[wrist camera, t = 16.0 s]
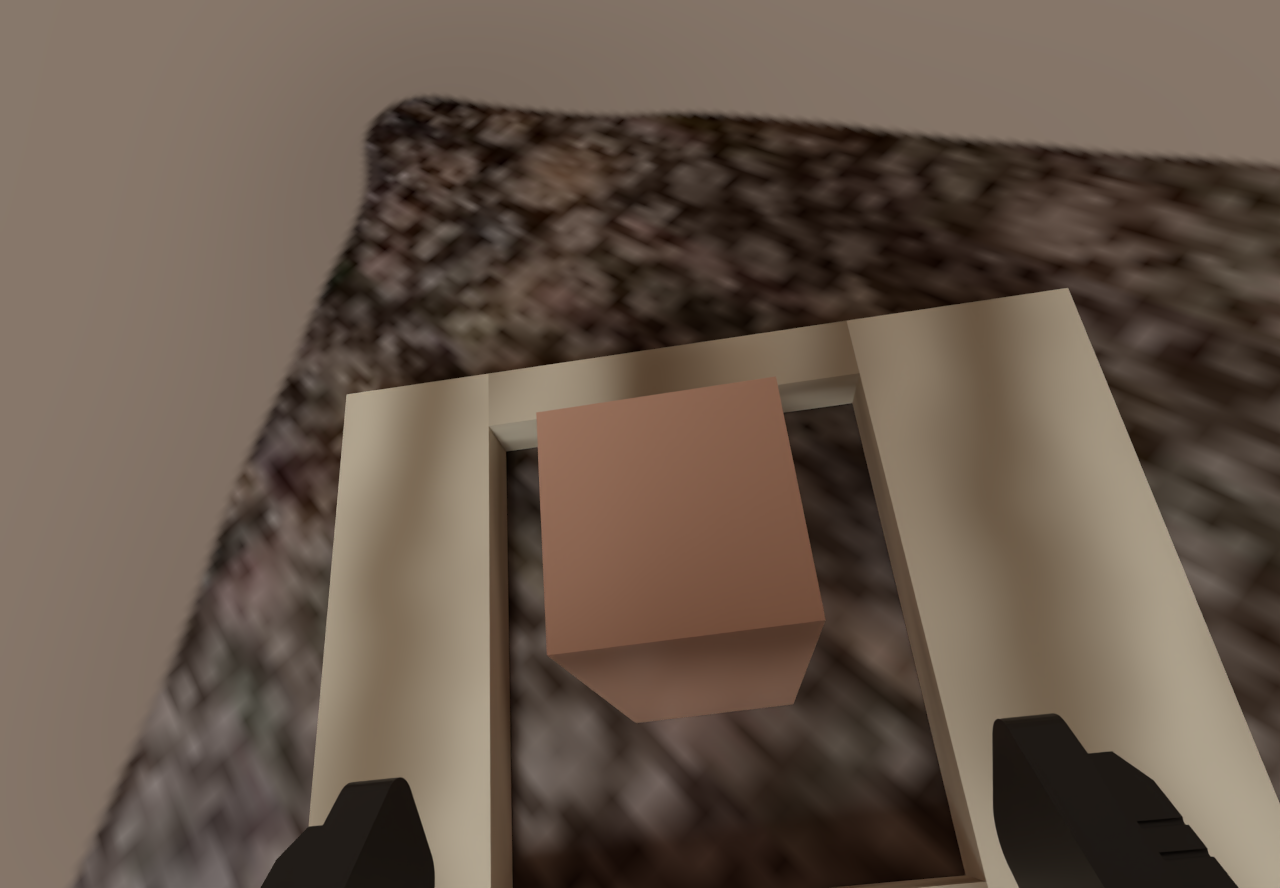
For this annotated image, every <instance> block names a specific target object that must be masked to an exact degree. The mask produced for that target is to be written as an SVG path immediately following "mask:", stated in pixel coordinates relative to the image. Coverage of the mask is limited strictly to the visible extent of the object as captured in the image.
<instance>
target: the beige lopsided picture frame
mask: <svg viewBox="0 0 1280 888" xmlns="http://www.w3.org/2000/svg"><path fill="white" fill-rule="evenodd" d="M775 376H776V379H777V384H778V389H779V394H780V399H781V404H782V409H783V413H785V412H792V411H800V410H807V409H814V408H821V407H828V406H835V405H843V404H850V403H852V404H853V408H854V412H855V417H856V421H857V425H858V429H859V433H860V437H861V442H862V446H863V450H864V454H865V458H866V462H867V467H868V471H869V475H870V479H871V483H872V487H873V492H874V496H875V500H876V504H877V508H878V512H879V517H880V521H881V525H882V529H883V533H884V537H885V542H886V546H887V550H888V554H889V558H890V563H891V567H892V571H893V575H894V579H895V583H896V588H897V592H898V596H899V600H900V604H901V608H902V613H903V617H904V621H905V625H906V629H907V633H908V638H909V642H910V646H911V650H912V654H913V658H914V663H915V667H916V671H917V675H918V679H919V683H920V688H921V692H922V696H923V700H924V704H925V708H926V713H927V717H928V721H929V725H930V729H931V733H932V738H933V742H934V746H935V750H936V754H937V758H938V763H939V767H940V771H941V775H942V779H943V783H944V788H945V792H946V796H947V800H948V804H949V808H950V813H951V817H952V821H953V825H954V829H955V833H956V838H957V842H958V846H959V850H960V854H961V858H962V863H963V867H964V871H965V875H962V876H951V877H940V878H929V879H918V880H907V881H896V882H885V883H875V884H864V885H853V886H842V887H831V888H1019V887H1018V885H1017V883H1016V880H1015V878H1014V876H1013V874H1012V872H1011V870H1010V868H1009V866H1008V864H1007V862H1006V859H1005V857H1004V854H1003V852H1002V849H1001V846H1000V843H999V839H998V835H997V832H996V827H995V822H994V815H993V756H992V730H993V724H994V721H995V720H996V719H1001V718H1011V717H1020V716H1030V715H1040V714H1050V713H1055V714H1058V715H1059V716H1060V717H1062V718H1063V720H1064V721H1065V722H1066V723H1067V725H1068V726H1069V728H1070V729H1071V730H1072V732H1073V733H1074V735H1075V736H1076V737H1077V739H1078V740H1079V742H1080V743H1081V744H1082V746H1083V747H1084V749H1085V750H1086V751H1087V753H1099V752H1109V751H1113V752H1114V753H1115V754H1117V755H1118V756H1120V757H1121V758H1123V759H1124V760H1125V761H1127V762H1128V763H1130V764H1131V765H1133V766H1134V767H1135V768H1137V769H1138V770H1140V771H1141V772H1143V773H1144V774H1145V775H1147V776H1148V777H1150V778H1151V779H1153V780H1154V781H1155V783H1156V784H1157V785H1158V786H1159V788H1160V789H1161V790H1162V791H1163V793H1164V794H1165V795H1166V796H1167V798H1168V799H1169V800H1170V801H1171V803H1172V804H1173V805H1174V807H1175V808H1176V809H1177V810H1178V812H1179V813H1180V814H1181V815H1182V817H1183V821H1184V823H1185V824H1186V825H1190V827H1191V828H1192V829H1193V831H1194V832H1195V833H1196V834H1197V836H1198V837H1199V838H1200V839H1201V841H1202V842H1203V843H1204V844H1205V846H1206V847H1207V848H1208V853H1209V855H1210V856H1211V857H1215V858H1216V860H1217V861H1218V862H1219V863H1220V865H1221V866H1222V867H1223V868H1224V870H1225V871H1226V872H1227V873H1228V875H1229V876H1230V877H1231V879H1232V880H1233V881H1234V882H1235V884H1236V885H1237V886H1238V887H1239V888H1280V803H1279V801H1278V798H1277V796H1276V794H1275V791H1274V789H1273V786H1272V784H1271V781H1270V779H1269V777H1268V774H1267V772H1266V769H1265V767H1264V764H1263V762H1262V759H1261V757H1260V755H1259V752H1258V750H1257V747H1256V745H1255V742H1254V740H1253V738H1252V735H1251V733H1250V730H1249V728H1248V725H1247V723H1246V720H1245V718H1244V716H1243V713H1242V711H1241V708H1240V706H1239V703H1238V701H1237V699H1236V696H1235V694H1234V691H1233V689H1232V686H1231V684H1230V681H1229V679H1228V677H1227V674H1226V672H1225V669H1224V667H1223V664H1222V662H1221V660H1220V657H1219V655H1218V652H1217V650H1216V647H1215V645H1214V642H1213V640H1212V638H1211V635H1210V633H1209V630H1208V628H1207V625H1206V623H1205V621H1204V618H1203V616H1202V613H1201V611H1200V608H1199V606H1198V604H1197V601H1196V599H1195V596H1194V594H1193V591H1192V589H1191V586H1190V584H1189V582H1188V579H1187V577H1186V574H1185V572H1184V569H1183V567H1182V565H1181V562H1180V560H1179V557H1178V555H1177V552H1176V550H1175V547H1174V545H1173V543H1172V540H1171V538H1170V535H1169V533H1168V530H1167V528H1166V526H1165V523H1164V521H1163V518H1162V516H1161V513H1160V511H1159V508H1158V506H1157V504H1156V501H1155V499H1154V496H1153V494H1152V491H1151V489H1150V487H1149V484H1148V482H1147V479H1146V477H1145V474H1144V472H1143V469H1142V467H1141V465H1140V462H1139V460H1138V457H1137V455H1136V452H1135V450H1134V448H1133V445H1132V443H1131V440H1130V438H1129V435H1128V433H1127V430H1126V428H1125V426H1124V423H1123V421H1122V418H1121V416H1120V413H1119V411H1118V409H1117V406H1116V404H1115V401H1114V399H1113V396H1112V394H1111V391H1110V389H1109V387H1108V384H1107V382H1106V379H1105V377H1104V374H1103V372H1102V370H1101V367H1100V365H1099V362H1098V360H1097V357H1096V355H1095V353H1094V350H1093V348H1092V345H1091V343H1090V340H1089V338H1088V335H1087V333H1086V331H1085V328H1084V326H1083V323H1082V321H1081V318H1080V316H1079V314H1078V311H1077V309H1076V306H1075V304H1074V301H1073V299H1072V296H1071V294H1070V292H1069V289H1068V288H1064V289H1057V290H1051V291H1044V292H1037V293H1030V294H1023V295H1017V296H1010V297H1003V298H996V299H990V300H983V301H976V302H969V303H963V304H956V305H949V306H942V307H936V308H929V309H922V310H915V311H909V312H902V313H895V314H888V315H881V316H875V317H868V318H861V319H854V320H848V321H841V322H834V323H827V324H821V325H814V326H807V327H800V328H794V329H787V330H780V331H773V332H766V333H760V334H753V335H746V336H739V337H733V338H726V339H719V340H712V341H706V342H699V343H692V344H685V345H679V346H672V347H665V348H658V349H652V350H645V351H638V352H631V353H624V354H618V355H611V356H604V357H597V358H591V359H584V360H577V361H570V362H564V363H557V364H550V365H543V366H537V367H530V368H523V369H516V370H510V371H503V372H496V373H489V374H482V375H476V376H469V377H462V378H455V379H449V380H442V381H435V382H428V383H422V384H415V385H408V386H401V387H395V388H388V389H381V390H374V391H368V392H361V393H354V394H347V397H346V408H345V420H344V431H343V442H342V454H341V465H340V476H339V488H338V499H337V510H336V522H335V533H334V544H333V556H332V567H331V579H330V590H329V601H328V613H327V624H326V635H325V647H324V658H323V669H322V681H321V692H320V703H319V715H318V726H317V737H316V749H315V760H314V772H313V783H312V794H311V806H310V817H309V826H319V825H323V824H324V822H325V820H326V818H327V816H328V814H329V813H330V811H331V809H332V807H333V805H334V803H335V801H336V799H337V797H338V795H339V794H340V792H341V790H342V789H343V788H344V786H345V785H347V784H348V783H350V782H358V781H368V780H377V779H387V778H397V777H402V778H404V779H405V780H406V781H407V782H408V784H409V786H410V788H411V791H412V794H413V798H414V801H415V804H416V807H417V810H418V813H419V816H420V820H421V823H422V826H423V829H424V832H425V835H426V838H427V841H428V845H429V848H430V851H431V854H432V858H433V862H434V870H435V888H513V872H512V806H511V740H510V675H509V609H508V543H507V477H506V451H513V450H520V449H527V448H535V447H538V441H537V418H536V413H537V412H543V411H550V410H557V409H563V408H570V407H577V406H583V405H590V404H596V403H603V402H610V401H616V400H623V399H630V398H636V397H643V396H649V395H656V394H663V393H669V392H676V391H683V390H689V389H696V388H702V387H709V386H716V385H722V384H729V383H736V382H742V381H749V380H756V379H762V378H769V377H775Z"/></svg>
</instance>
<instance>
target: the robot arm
mask: <svg viewBox="0 0 1280 888" xmlns="http://www.w3.org/2000/svg"><path fill="white" fill-rule="evenodd" d="M992 756H993V815H994V822H995V827H996V832H997V835H998V839H999V843H1000V846H1001V849H1002V852H1003V854H1004V857H1005V859H1006V862H1007V864H1008V866H1009V868H1010V870H1011V872H1012V874H1013V876H1014V878H1015V880H1016V883H1017V885H1018V887H1019V888H1239V887H1238V886H1237V885H1236V884H1235V882H1234V881H1233V880H1232V879H1231V877H1230V876H1229V875H1228V873H1227V872H1226V871H1225V870H1224V868H1223V867H1222V866H1221V865H1220V863H1219V862H1218V861H1217V860H1216V858H1215V857H1211V856H1210V855H1209V853H1208V848H1207V847H1206V846H1205V844H1204V843H1203V842H1202V841H1201V839H1200V838H1199V837H1198V836H1197V834H1196V833H1195V832H1194V831H1193V829H1192V828H1191V827H1190V825H1186V824H1185V823H1184V821H1183V817H1182V815H1181V814H1180V813H1179V812H1178V810H1177V809H1176V808H1175V807H1174V805H1173V804H1172V803H1171V801H1170V800H1169V799H1168V798H1167V796H1166V795H1165V794H1164V793H1163V791H1162V790H1161V789H1160V788H1159V786H1158V785H1157V784H1156V783H1155V781H1154V780H1153V779H1151V778H1150V777H1148V776H1147V775H1145V774H1144V773H1143V772H1141V771H1140V770H1138V769H1137V768H1135V767H1134V766H1133V765H1131V764H1130V763H1128V762H1127V761H1125V760H1124V759H1123V758H1121V757H1120V756H1118V755H1117V754H1115V753H1114V752H1113V751H1109V752H1099V753H1087V751H1086V750H1085V749H1084V747H1083V746H1082V744H1081V743H1080V742H1079V740H1078V739H1077V737H1076V736H1075V735H1074V733H1073V732H1072V730H1071V729H1070V728H1069V726H1068V725H1067V723H1066V722H1065V721H1064V720H1063V718H1062V717H1060V716H1059V715H1058V714H1055V713H1050V714H1040V715H1030V716H1020V717H1011V718H1001V719H996V720H995V721H994V724H993V730H992ZM261 888H435V870H434V862H433V858H432V854H431V851H430V848H429V845H428V841H427V838H426V835H425V832H424V829H423V826H422V823H421V820H420V816H419V813H418V810H417V807H416V804H415V801H414V798H413V794H412V791H411V788H410V786H409V784H408V782H407V781H406V780H405V779H404V778H402V777H397V778H387V779H377V780H368V781H358V782H350V783H348V784H347V785H345V786H344V788H343V789H342V790H341V792H340V794H339V795H338V797H337V799H336V801H335V803H334V805H333V807H332V809H331V811H330V813H329V814H328V816H327V818H326V820H325V822H324V824H323V825H319V826H309V827H308V828H307V829H306V830H305V831H304V832H303V833H302V834H301V835H300V836H299V837H298V838H297V839H296V840H295V841H294V842H293V843H292V844H291V845H290V846H289V847H288V848H287V849H286V850H285V852H284V853H283V854H282V855H281V856H280V857H279V858H278V859H277V860H276V862H275V863H274V865H273V867H272V869H271V870H270V872H269V874H268V876H267V877H266V879H265V881H264V883H263V884H262V886H261Z"/></svg>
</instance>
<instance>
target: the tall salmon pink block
mask: <svg viewBox="0 0 1280 888" xmlns="http://www.w3.org/2000/svg"><path fill="white" fill-rule="evenodd" d="M536 418H537V441H538V463H539V485H540V508H541V530H542V553H543V575H544V598H545V620H546V643H547V656H548V657H550V658H551V659H552V660H554V661H555V662H556V663H558V664H559V665H560V666H562V667H563V668H564V669H566V670H567V671H568V672H569V673H571V674H572V675H573V676H575V677H576V678H577V679H579V680H580V681H581V682H583V683H584V684H585V685H587V686H588V687H589V688H590V689H592V690H593V691H594V692H596V693H597V694H598V695H600V696H601V697H602V698H604V699H605V700H606V701H608V702H609V703H610V704H611V705H613V706H614V707H615V708H617V709H618V710H619V711H621V712H622V713H623V714H625V715H626V716H627V717H629V718H630V719H631V720H633V721H634V722H635V723H642V722H650V721H658V720H667V719H675V718H683V717H692V716H700V715H709V714H717V713H725V712H734V711H742V710H751V709H759V708H767V707H776V706H784V705H793V703H794V701H795V698H796V696H797V693H798V690H799V688H800V685H801V683H802V680H803V678H804V675H805V672H806V670H807V667H808V665H809V662H810V659H811V657H812V654H813V652H814V649H815V646H816V644H817V641H818V639H819V636H820V633H821V631H822V628H823V626H824V623H825V620H826V619H825V614H824V610H823V605H822V600H821V595H820V590H819V585H818V580H817V575H816V570H815V566H814V561H813V556H812V551H811V546H810V541H809V536H808V531H807V526H806V521H805V517H804V512H803V507H802V502H801V497H800V492H799V487H798V482H797V477H796V472H795V468H794V463H793V458H792V453H791V448H790V443H789V438H788V433H787V428H786V424H785V419H784V414H783V409H782V404H781V399H780V394H779V389H778V384H777V379H776V376H775V377H769V378H762V379H756V380H749V381H742V382H736V383H729V384H722V385H716V386H709V387H702V388H696V389H689V390H683V391H676V392H669V393H663V394H656V395H649V396H643V397H636V398H630V399H623V400H616V401H610V402H603V403H596V404H590V405H583V406H577V407H570V408H563V409H557V410H550V411H543V412H537V413H536Z"/></svg>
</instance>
